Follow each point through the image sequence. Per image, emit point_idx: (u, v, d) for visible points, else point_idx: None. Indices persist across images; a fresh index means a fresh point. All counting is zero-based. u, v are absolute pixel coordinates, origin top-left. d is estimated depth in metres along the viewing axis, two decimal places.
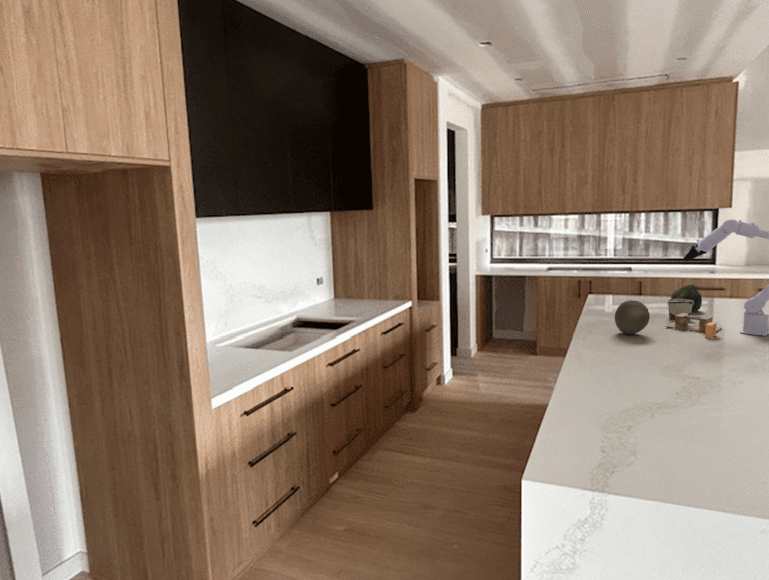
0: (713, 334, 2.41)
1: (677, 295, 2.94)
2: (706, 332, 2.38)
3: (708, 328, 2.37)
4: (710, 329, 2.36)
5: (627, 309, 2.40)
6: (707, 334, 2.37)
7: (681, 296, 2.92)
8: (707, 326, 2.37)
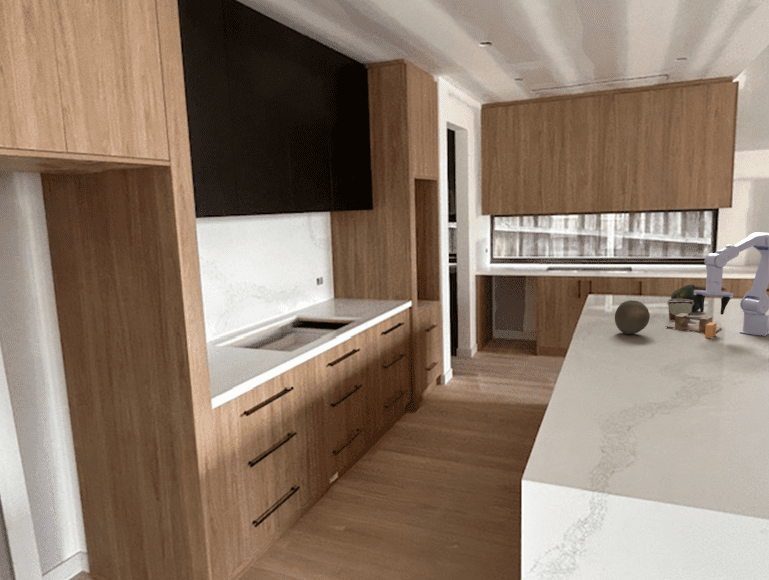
0: (713, 334, 2.41)
1: (677, 295, 2.94)
2: (706, 332, 2.38)
3: (708, 328, 2.37)
4: (710, 329, 2.36)
5: (627, 309, 2.40)
6: (707, 334, 2.37)
7: (681, 296, 2.92)
8: (707, 326, 2.37)
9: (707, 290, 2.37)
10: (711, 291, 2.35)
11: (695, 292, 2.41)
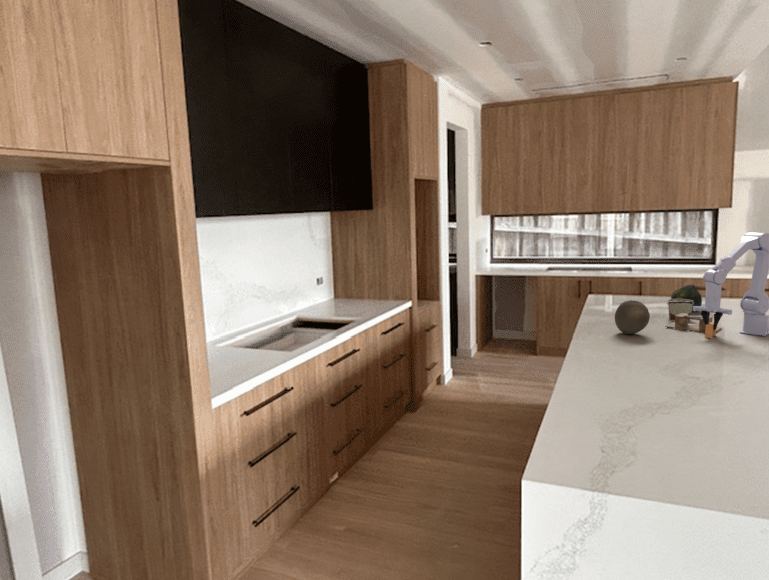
0: (713, 334, 2.41)
1: (677, 295, 2.94)
2: (706, 332, 2.38)
3: (708, 328, 2.37)
4: (710, 329, 2.36)
5: (627, 309, 2.40)
6: (707, 334, 2.37)
7: (681, 296, 2.92)
8: (707, 326, 2.37)
9: (706, 306, 2.38)
10: (710, 307, 2.36)
11: (694, 308, 2.42)
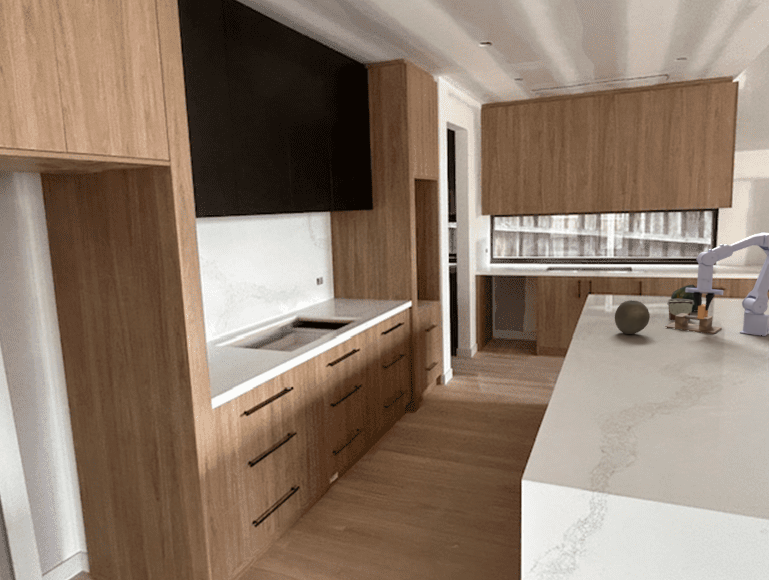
0: (705, 316, 2.48)
1: (677, 295, 2.94)
2: (698, 313, 2.44)
3: (700, 309, 2.44)
4: (702, 310, 2.43)
5: (627, 309, 2.40)
6: (699, 315, 2.44)
7: (681, 296, 2.92)
8: (699, 307, 2.44)
9: (698, 287, 2.44)
10: (702, 288, 2.43)
11: (687, 289, 2.49)
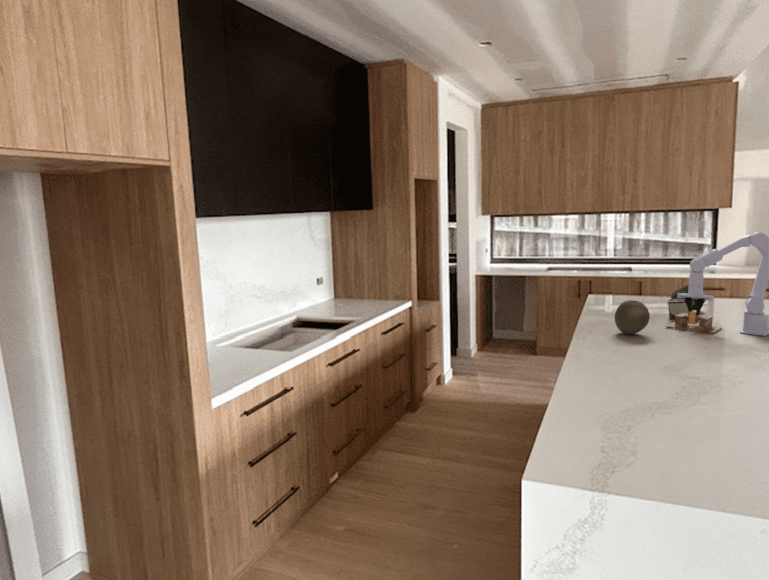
0: (696, 321, 2.56)
1: None
2: (690, 319, 2.53)
3: (691, 315, 2.52)
4: (693, 316, 2.52)
5: (627, 309, 2.40)
6: (690, 321, 2.53)
7: None
8: (690, 313, 2.52)
9: (689, 293, 2.52)
10: (693, 294, 2.51)
11: (678, 295, 2.57)
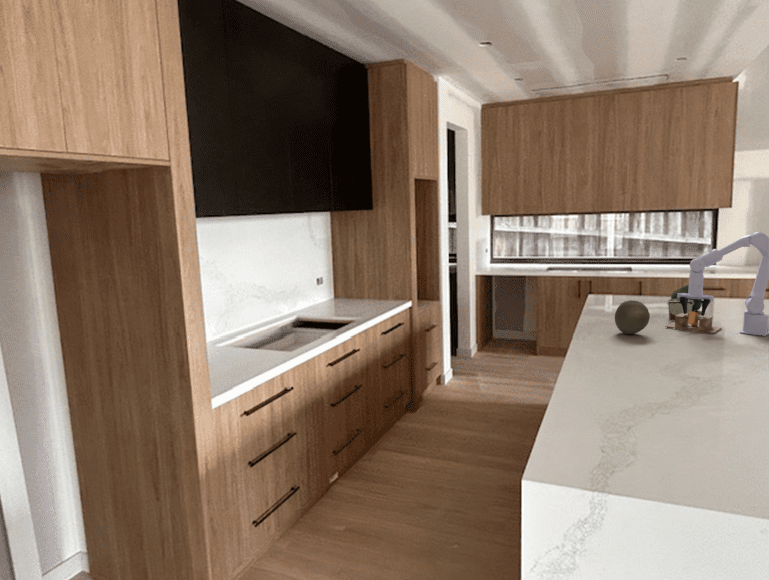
0: (695, 324, 2.55)
1: None
2: (689, 318, 2.52)
3: (692, 314, 2.52)
4: (693, 315, 2.52)
5: (627, 309, 2.40)
6: (690, 320, 2.52)
7: None
8: (691, 312, 2.53)
9: (689, 293, 2.52)
10: (693, 294, 2.51)
11: (678, 295, 2.57)
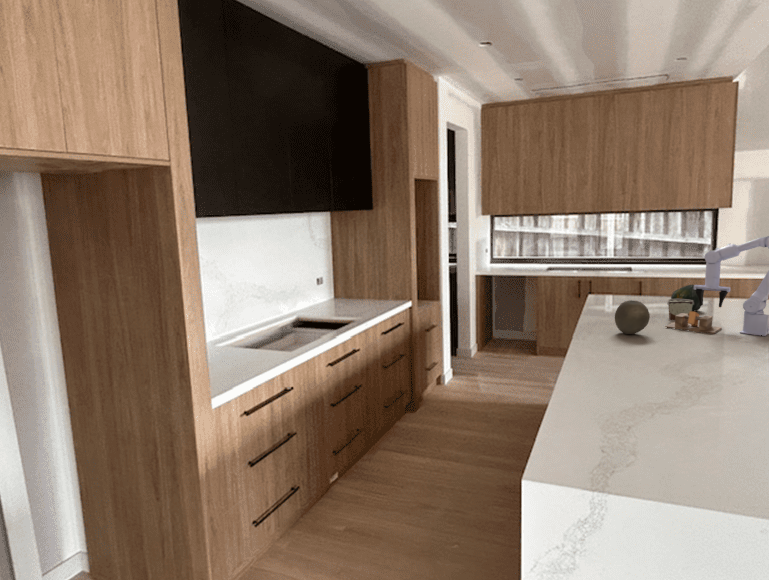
0: (695, 324, 2.55)
1: (677, 295, 2.94)
2: (689, 318, 2.52)
3: (692, 314, 2.52)
4: (693, 315, 2.52)
5: (627, 309, 2.40)
6: (690, 320, 2.52)
7: (681, 296, 2.92)
8: (691, 312, 2.53)
9: (706, 285, 2.54)
10: (710, 285, 2.53)
11: (695, 287, 2.59)
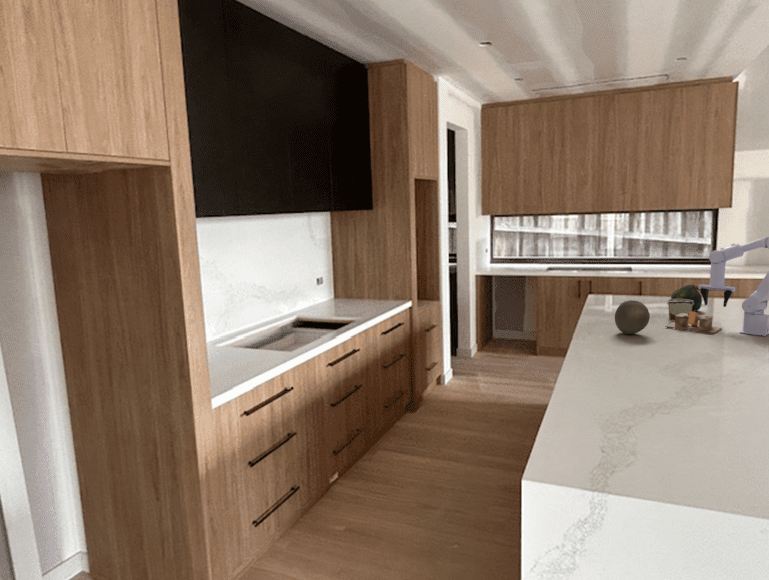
0: (695, 324, 2.55)
1: (677, 295, 2.94)
2: (689, 318, 2.52)
3: (692, 314, 2.52)
4: (693, 315, 2.52)
5: (627, 309, 2.40)
6: (690, 320, 2.52)
7: (681, 296, 2.92)
8: (691, 312, 2.53)
9: (711, 284, 2.55)
10: (714, 285, 2.53)
11: (700, 286, 2.59)
